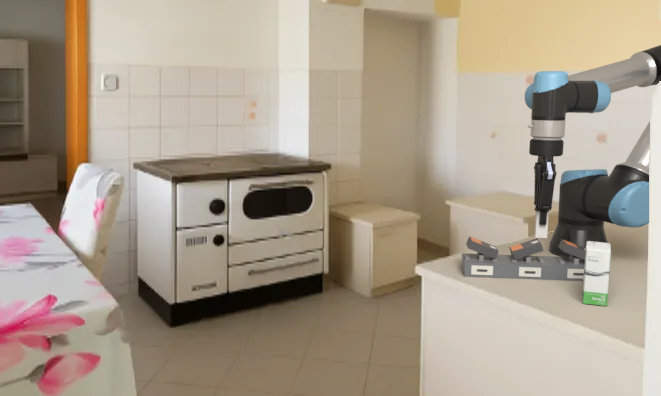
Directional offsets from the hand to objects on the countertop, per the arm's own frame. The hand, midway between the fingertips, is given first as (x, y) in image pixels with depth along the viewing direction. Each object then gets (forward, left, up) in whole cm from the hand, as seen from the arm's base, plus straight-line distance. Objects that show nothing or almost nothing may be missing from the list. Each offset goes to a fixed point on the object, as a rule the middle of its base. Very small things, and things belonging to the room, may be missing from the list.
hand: (540, 237), depth 151 cm
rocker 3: (-8, 0, -4) cm, 9 cm away
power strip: (+3, 0, -9) cm, 10 cm away
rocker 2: (+3, 0, -4) cm, 5 cm away
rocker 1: (+14, 0, -4) cm, 14 cm away
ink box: (-8, +18, -9) cm, 22 cm away
